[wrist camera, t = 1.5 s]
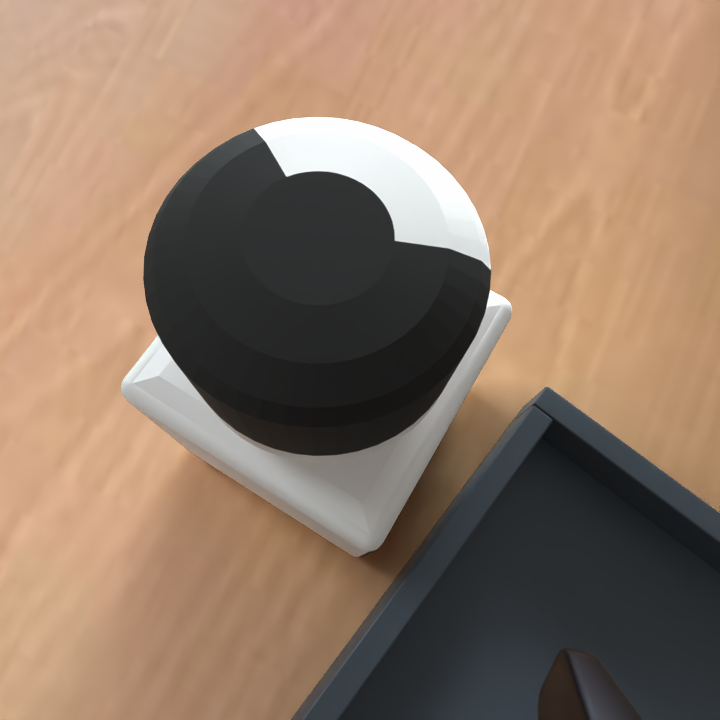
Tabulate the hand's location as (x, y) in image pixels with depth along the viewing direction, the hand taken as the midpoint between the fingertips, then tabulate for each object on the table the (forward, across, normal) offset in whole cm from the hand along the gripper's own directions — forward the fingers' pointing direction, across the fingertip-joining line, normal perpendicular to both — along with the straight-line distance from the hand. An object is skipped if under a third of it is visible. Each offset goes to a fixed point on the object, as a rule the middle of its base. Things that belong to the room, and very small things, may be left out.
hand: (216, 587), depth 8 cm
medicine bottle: (+12, 0, +5) cm, 13 cm away
